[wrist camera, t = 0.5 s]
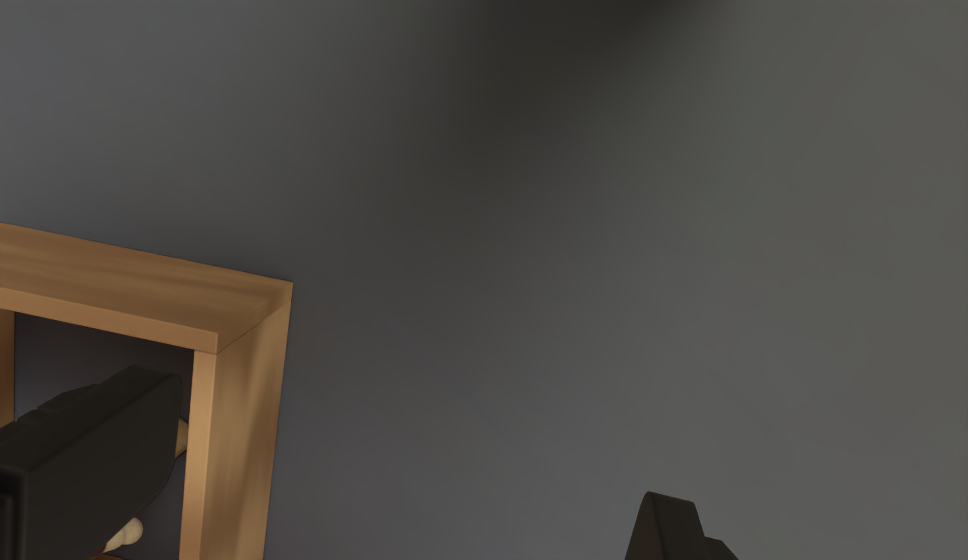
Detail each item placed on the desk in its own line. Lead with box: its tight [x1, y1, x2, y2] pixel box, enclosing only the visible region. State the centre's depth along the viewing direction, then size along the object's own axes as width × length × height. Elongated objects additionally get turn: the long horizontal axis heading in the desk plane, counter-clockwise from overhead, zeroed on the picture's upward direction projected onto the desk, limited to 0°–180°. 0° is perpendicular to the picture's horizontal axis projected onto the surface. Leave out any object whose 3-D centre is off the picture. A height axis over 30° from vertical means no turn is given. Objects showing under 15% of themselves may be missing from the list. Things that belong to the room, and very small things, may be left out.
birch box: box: [0, 222, 293, 560], centre depth 31 cm, size 17×14×7 cm
